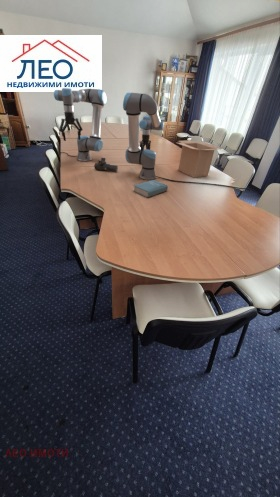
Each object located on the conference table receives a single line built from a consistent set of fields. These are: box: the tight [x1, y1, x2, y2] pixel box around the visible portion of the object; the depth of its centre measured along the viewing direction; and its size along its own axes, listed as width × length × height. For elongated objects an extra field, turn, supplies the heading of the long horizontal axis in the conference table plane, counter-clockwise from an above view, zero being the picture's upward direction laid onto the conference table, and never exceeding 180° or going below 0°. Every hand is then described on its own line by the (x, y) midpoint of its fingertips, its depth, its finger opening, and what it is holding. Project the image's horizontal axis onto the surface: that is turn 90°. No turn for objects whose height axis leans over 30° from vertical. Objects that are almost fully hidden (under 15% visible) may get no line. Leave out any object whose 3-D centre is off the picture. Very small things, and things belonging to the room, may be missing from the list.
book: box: [133, 179, 169, 198], centre depth 177 cm, size 23×16×5 cm
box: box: [176, 139, 222, 179], centre depth 217 cm, size 44×36×27 cm
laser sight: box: [93, 157, 119, 173], centre depth 211 cm, size 10×22×10 cm, turn 78°
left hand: (72, 140), depth 192 cm, fingers open, 13 cm apart
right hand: (144, 158), depth 232 cm, fingers closed on brick, 5 cm apart
